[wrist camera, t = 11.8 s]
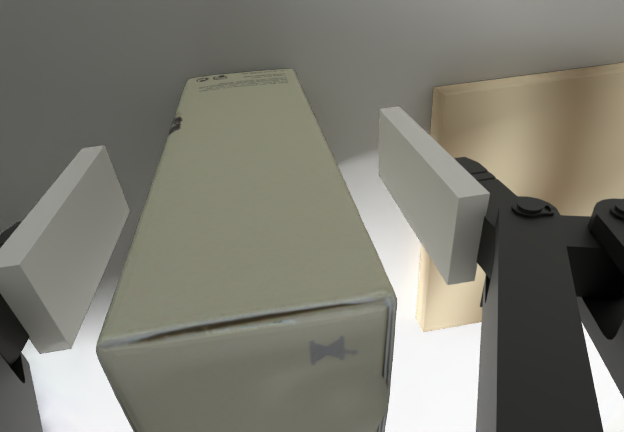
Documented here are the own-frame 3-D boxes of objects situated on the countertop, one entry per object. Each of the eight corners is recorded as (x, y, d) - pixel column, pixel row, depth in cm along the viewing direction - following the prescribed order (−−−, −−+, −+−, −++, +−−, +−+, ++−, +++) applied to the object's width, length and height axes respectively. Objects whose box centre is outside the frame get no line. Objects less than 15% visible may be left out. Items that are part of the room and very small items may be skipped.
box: (184, 74, 16) (64, 331, 5) (297, 65, 16) (408, 284, 6) (208, 193, 19) (165, 519, 8) (304, 183, 19) (386, 478, 8)
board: (415, 317, 25) (423, 332, 24) (433, 87, 17) (445, 95, 16) (671, 272, 26) (688, 285, 25) (791, 40, 19) (822, 45, 18)
